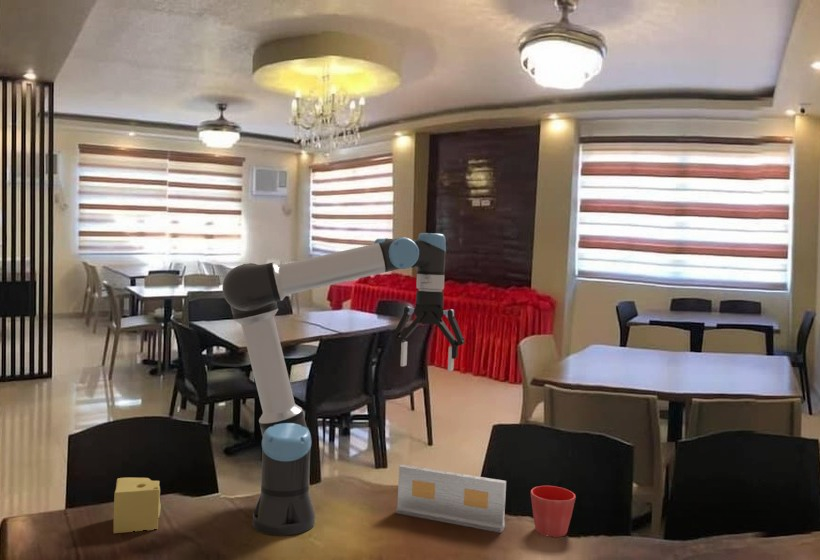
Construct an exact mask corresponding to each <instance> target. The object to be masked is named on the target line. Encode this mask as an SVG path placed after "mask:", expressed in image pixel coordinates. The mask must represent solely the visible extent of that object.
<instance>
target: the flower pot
mask: <svg viewBox="0 0 820 560" xmlns="http://www.w3.org/2000/svg"><path fill="white" fill-rule="evenodd" d="M530 498H531V499H530V500H531V501H530V502H531V507H532V515H533V517H532V518H533V522H534V529H535V531H536V532H537V533H539V534H540V535H542V534H543V535H542V536H545V535H548V536H547V537H549V536H553V537H552V538H560V537H565V536H566V535H567V533H568V531H569V526H570V523H571V519H572V516H573V511H574V507H575V503H576V498H577V497H576V494H575V493H574V492H573V491H571V490H569V489H567V488H564V487H559V486H557V485H556V486H555V485H540V486H535V487H532V489H531V490H530Z"/></svg>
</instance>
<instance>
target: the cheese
mask: <svg viewBox="0 0 820 560" xmlns="http://www.w3.org/2000/svg"><path fill="white" fill-rule="evenodd" d="M160 482H161V481H160V480H152V479H150V478H149V477H120V478H119V477H118V478H117V479H116V483H115V485H116V486H115V490H114V498H113V500H114V501H113V534H123V533H134V532H133V531H135V532H143V530H147V531H155V530H154V529H157V530H158V529H159V519H158V518H160V515H161V510H162V509H161V508H162V505H161V500H160V497H161V496H160V495H161V486H160Z"/></svg>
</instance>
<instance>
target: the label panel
mask: <svg viewBox="0 0 820 560" xmlns="http://www.w3.org/2000/svg"><path fill="white" fill-rule="evenodd" d="M397 488H398V489H397V508H395V513H396V514H398V515H404V516H409V517H415V518H421V519H426V520H429V521H430V520H431V521H436V522H442V523H447V524H451V525H452V524H453V525H458V526H463V527H469V528H474V529H479V530H483V531H488V532H489V531H490V532H495V533H503V531H504V529H505V528H506V522H505V517H506V516H505V515H506V513H505V510H506V496H507V495H506V494H507V493H506V492H507V480H502V479H498V478H497V479H496V478H489V477H483V476H477V475H472V474H464V473H459V472H458V473H457V472H452V471H446V470H438V469H433V468H427V467H420V466H416V465H409V464H400V465H399V466H398V487H397Z"/></svg>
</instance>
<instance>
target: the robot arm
mask: <svg viewBox="0 0 820 560" xmlns="http://www.w3.org/2000/svg"><path fill="white" fill-rule="evenodd" d="M446 244H447V243H446V236H445V235H444V234H443V233H436V232H435V233H432V232H430V233H429V232H420V233H419V234H418V237H417V239H411V238H409V237H398V238H388V237H385V238H376V239H375V241H374V243H373V244H367V245H363V246H360V247H354V248H350V249H346V250H339V251H337V252H332V253H327V254H324V255H319V256H313V257H310V258H309V257H308V258H306V259H301V260H296V261H291V262H287V263H283V264H277V263H275V262H269V263H262V264H256V263H251V262H250V263H243V264H240V265H237V266H235V267H234V268H232V269H231V270H230V271H228V273H227V274H226V275H225V276H224V279H223V281H222V295H223V297H224V299H225V301H226V302H227V303H228V304H229V305H230V309H231V313H232V317H233V321H234V322H237V323H238V324H239V325H241V329H242V332H243V336H244V340H245V345H246V349H247V353H248V358H249V360H250V365H251V369H252V374H253V377H254V378H253V379H254V380H255V381H254V382H255V385H256V390H257V393H258V397H259V402H260V406H261V410H262V414H261V415H260V417H259V419H258V422H259V426H260V427H259V428H260V430H261V431H260V432H261V436H262V439H261V448H262V451H261V477H260V480H261V481H260V493H259V497H258V499H257V502H256V505H255V507H254V508H255V509H254V510H253V513H252V528H253V529H254V530H255V531H257V532H259V533H262V534H265V535H271V536H279V537H280V536H292V535H298V534H302V533H304V532H307V531H309V530H311V529H312V528H313V527H315V525H316V512H315V509H314V505H313V502H312V499H311V498H312V497H311V494H310V469H311V468H310V466H311V447H312V436H311V432H310V430H309V427H308V425H307V422H306V419H305V415H304V411H303V407H301V406H299V405H298V404H296V402H295V399H294V394H293V390H292V386H291V382H290V377H289V373H288V369H287V365H286V362H285V357H284V352H283V348H282V345H281V340H280V337H279V331H278V328H277V324H276V319H275V316H276V314H277V312H278V311H279V307H278V304H277V303H278V302H282V301H284V299H285V298H286V296H289V295H294V294H297V293H301V292H303V293H304V292H307V291H310V290H315V289H319V288H325V287H327V286H333V285H336V284H340V283H345V282H349V281H353V280H357V279H362V278H367V277H370V276H374V275H379V274H382V273H389V272H393V271H397V270H398V271H399V270H406V269H410V268H412V269H413V268H416V289H418V290H416V292H415V306H414V307H411V306H409V305H408V306H405V307H404V308H403V314H402V316H401V318H400V320H399V322H398V324H397V326H396V328H395V330H394V332H393V333H392V335H391V339H393V340H395V341H397V342H398V345H397V353H398V354H400V367H406V366H407V363H408V341H406V340H407V339H408V338H409V336H410V335H411V334H412V333H413V332H414V330H416V329H417V328H418V326H420V324H421V325H430V326H437V328H439V330H440V331H441V333H442V334H443V336H444V337H445V338H446V340H447V341H448V342H449V345H450V346H448V352H447V355H448V357H447V372H452V371H454V367H455V366H454V365H455V364H454V363H455V359H457V358H458V355H459V354H458V353H459V352H458V351H459V346H462V345H465V344H466V340H465V338H464V336H463V333H462V332H461V328H460V326H459V324H458V321H457V320H456V315H455V314H456V313H455V312H456V311H455V309H444V294H445V292H443V291H444V289H445V269H446V252H447V248H446ZM413 313H414V315H415V316H416V317H415V318H414V320H413V321H412V323H411V324H409V326H408V327H407V328H406V327H405V326H406V325H407V323H408V321H409V319H410V317H411V315H413ZM444 316H445V318H447V319H448V323H449V325H450V327H451V330H452V332H453V333H452V332H451V331H450V329H449V328H448V326H447V325H446V323H445V321H444V320H443V317H444ZM404 328H406V329H405V330H404ZM403 330H404V332H403ZM453 334H454V335H453Z"/></svg>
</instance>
